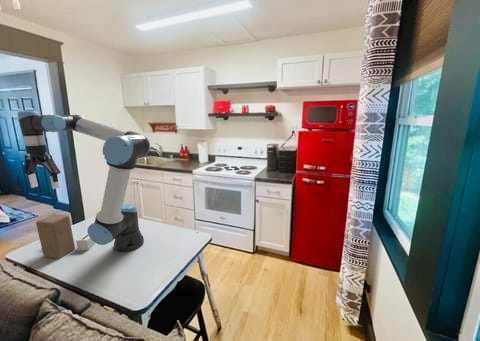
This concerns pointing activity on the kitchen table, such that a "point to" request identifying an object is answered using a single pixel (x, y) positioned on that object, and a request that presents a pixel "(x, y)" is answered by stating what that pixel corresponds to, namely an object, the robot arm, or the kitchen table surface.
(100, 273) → the kitchen table surface
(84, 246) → the grey marked cube
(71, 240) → the wooden block
